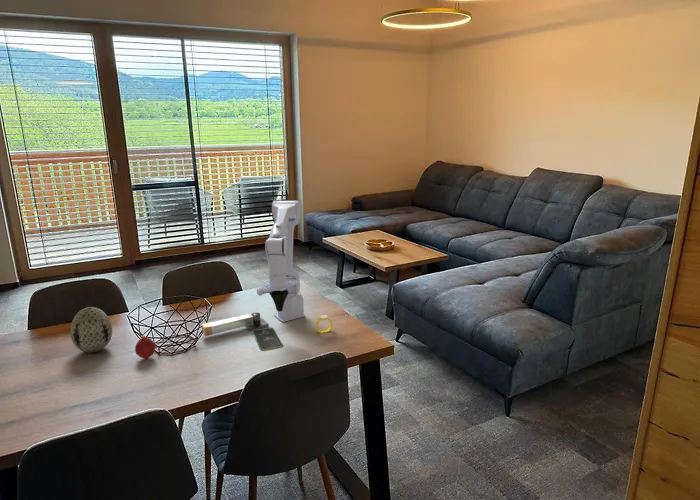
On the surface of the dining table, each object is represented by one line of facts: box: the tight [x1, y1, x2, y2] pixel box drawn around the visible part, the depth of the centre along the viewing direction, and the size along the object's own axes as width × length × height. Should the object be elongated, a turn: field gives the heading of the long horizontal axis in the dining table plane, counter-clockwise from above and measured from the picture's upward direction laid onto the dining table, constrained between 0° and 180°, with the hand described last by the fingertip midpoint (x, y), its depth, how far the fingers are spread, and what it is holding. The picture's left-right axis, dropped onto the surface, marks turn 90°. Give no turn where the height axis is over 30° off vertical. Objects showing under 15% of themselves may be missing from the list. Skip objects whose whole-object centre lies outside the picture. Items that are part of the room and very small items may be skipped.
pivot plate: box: [245, 317, 270, 332], centre depth 170 cm, size 7×6×1 cm
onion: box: [134, 334, 156, 360], centre depth 147 cm, size 6×6×8 cm
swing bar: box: [201, 312, 261, 337], centre depth 165 cm, size 3×20×3 cm, turn 121°
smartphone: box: [252, 327, 284, 351], centre depth 160 cm, size 8×1×15 cm
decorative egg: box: [70, 306, 113, 354], centre depth 151 cm, size 12×12×15 cm
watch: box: [314, 314, 334, 334], centre depth 165 cm, size 6×3×6 cm, turn 112°
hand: (279, 310), depth 160 cm, fingers closed
